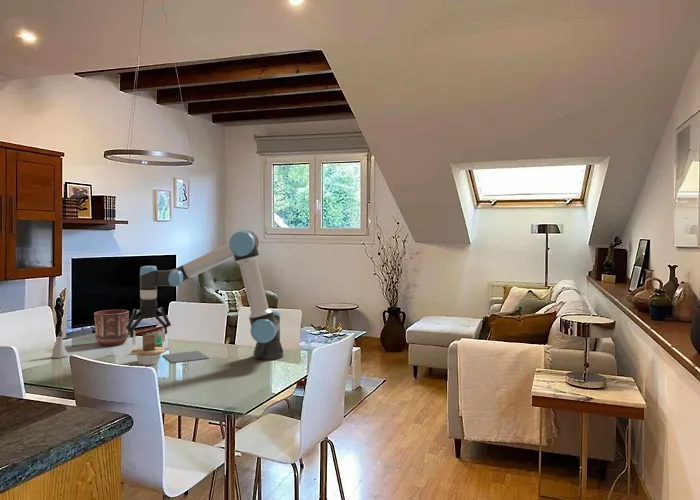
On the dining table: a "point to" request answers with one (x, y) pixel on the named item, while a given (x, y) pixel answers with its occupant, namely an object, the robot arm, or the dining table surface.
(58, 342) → the flask
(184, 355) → the rubber mat
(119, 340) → the pottery
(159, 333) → the food container
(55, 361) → the dining table surface
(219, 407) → the dining table surface
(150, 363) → the ramekin
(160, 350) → the oak lid
